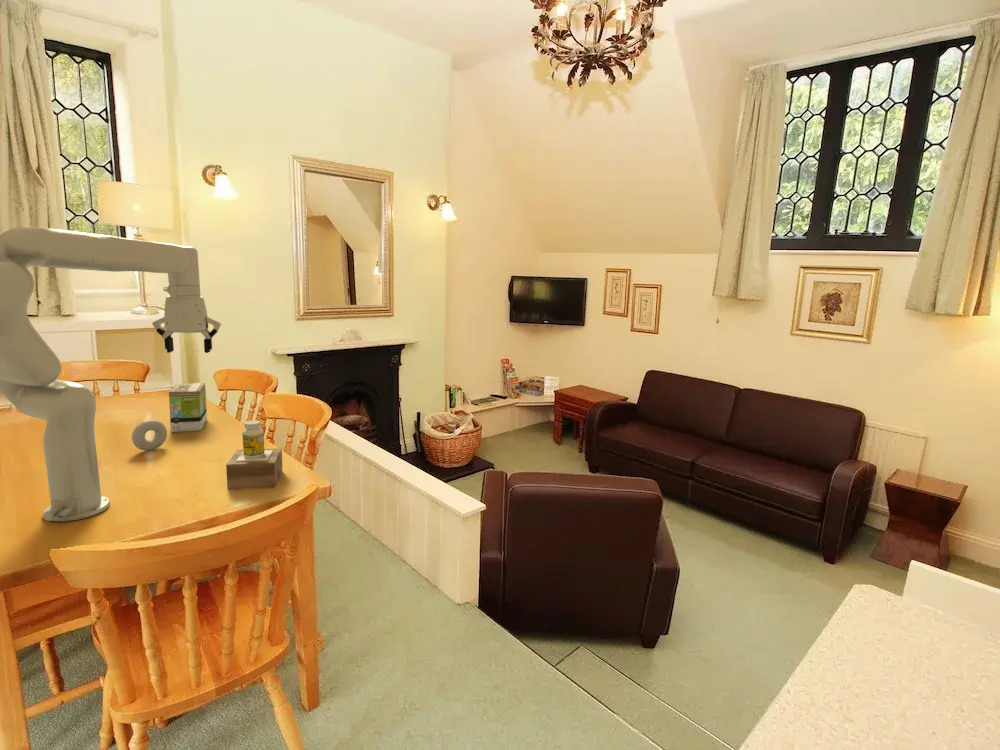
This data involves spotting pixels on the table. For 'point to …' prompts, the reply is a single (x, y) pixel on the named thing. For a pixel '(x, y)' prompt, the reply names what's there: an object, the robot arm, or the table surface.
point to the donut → (144, 427)
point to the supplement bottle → (253, 439)
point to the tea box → (187, 407)
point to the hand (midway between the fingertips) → (189, 352)
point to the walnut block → (254, 470)
